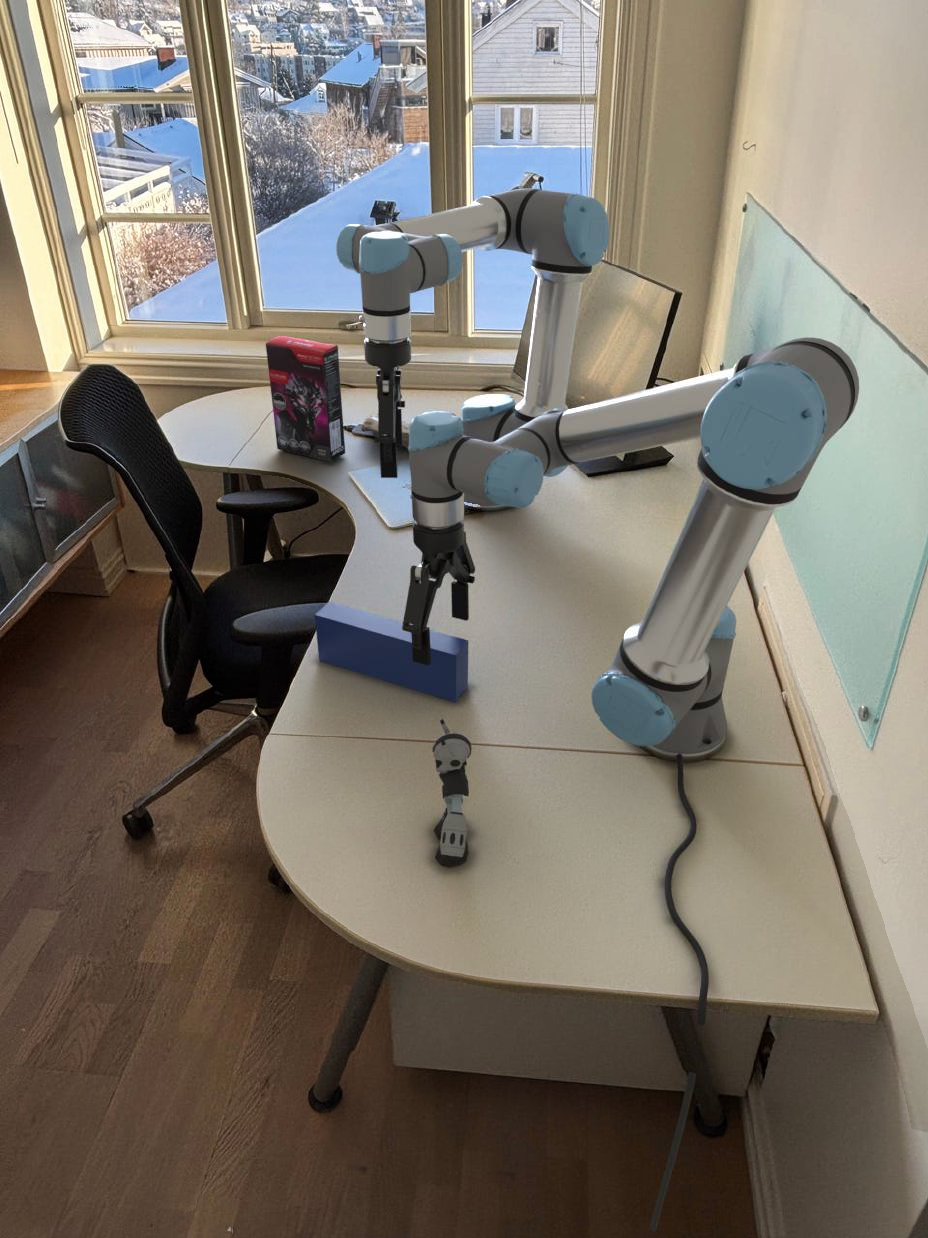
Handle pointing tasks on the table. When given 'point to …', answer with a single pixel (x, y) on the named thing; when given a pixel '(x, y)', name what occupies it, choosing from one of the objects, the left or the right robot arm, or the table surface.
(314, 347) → the graphics card box
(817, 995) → the table surface
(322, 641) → the bar
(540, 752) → the table surface
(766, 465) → the right robot arm
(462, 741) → the robot
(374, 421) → the stone
